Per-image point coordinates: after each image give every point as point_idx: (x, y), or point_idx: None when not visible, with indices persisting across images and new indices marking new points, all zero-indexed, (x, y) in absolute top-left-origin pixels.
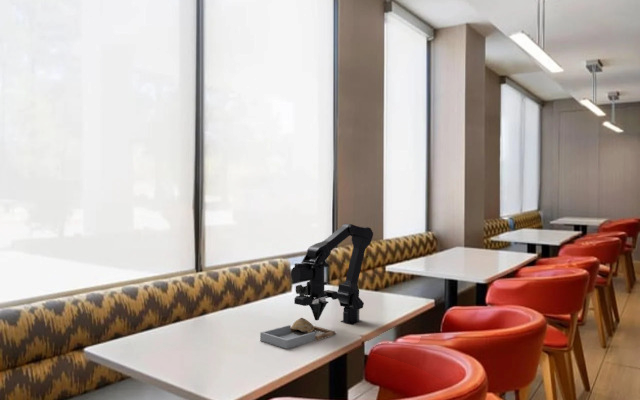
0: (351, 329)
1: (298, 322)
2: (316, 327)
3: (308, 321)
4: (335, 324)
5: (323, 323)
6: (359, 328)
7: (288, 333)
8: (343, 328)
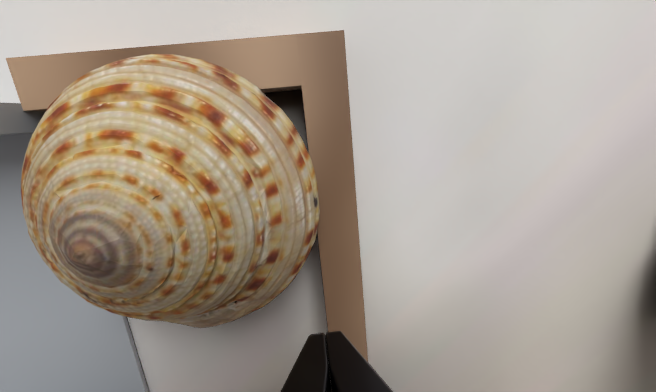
0: (584, 362)
1: (42, 250)
2: (334, 266)
3: (229, 272)
4: (640, 167)
5: (603, 51)
6: (643, 374)
7: (30, 136)
8: (570, 307)
